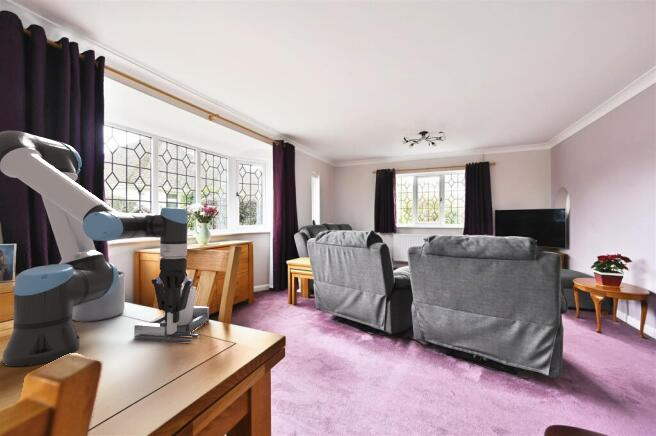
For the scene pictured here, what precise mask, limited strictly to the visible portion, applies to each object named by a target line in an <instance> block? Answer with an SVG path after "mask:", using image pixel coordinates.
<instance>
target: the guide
mask: <svg viewBox="0 0 656 436" xmlns="http://www.w3.org/2000/svg"><path fill="white" fill-rule="evenodd" d="M172 336H192V337H198V336H200V333H199V334H198V333H191V334H190V333H173V334H169V337H153V336H138V335H136V336H135V338H134V340H136V341H149V342H162V341H168V342H167V343H176V342H191V341H192V339H193V338H184V337H172ZM198 338H199V337H198ZM191 343H192V342H191Z"/></svg>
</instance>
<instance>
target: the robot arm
mask: <svg viewBox="0 0 656 436" xmlns="http://www.w3.org/2000/svg"><path fill="white" fill-rule="evenodd" d="M82 166H83V165H82V158H81V156H80V154H79V152H78V151H77V150H76V149H75V148H74V147H72V146H71V145H69V144H67V143H64V142H61V141H59V140H55V139H49V138H45V137H41V136H38V135H34V134H31V133H28V132H23V131H20V130H5V131H0V173H2V174H4V175H5V176H7V177H9V178H14V179H16V178H17V179H18V180H20V181H21V182H23V183H24V184H25V185H26V186H28V187H30V188H31V189H32V190H34V191H35V192H37V193H38V194H39V195H41V198H42V202H43V206H44V208H45V210H46V213H47V217H48V220H49V224H50V225H51V229H52V233H53V235H54V239H55V241H56V242H55V243H56V245H57V248H58V251H59V254H60V257H61V261H60V262H59V263H57V264H55V263H54V264H48V265H42V266H35V267H32V268H28V269H26V270H25V269H24V270H23V271H21V272H20V273H17V275H16V277H15V280H14V287H13V328H12V329H13V330H12V333H11V335H10V337H9V339H8V342H7V345H6V347H5V349H4V350H3V352H2V364H3V363H4V364H7V365H10V366H9V367H15V366H16V367H24V366H23V365H29V366H31V365H30V364H36V365H40V364H44V363H49V362H53V361H56V360H59V359H61V358H60V357H62V356H64V355H66V354H69V353H71V354H73V353H74V352H76V351H77V350H79V348H80V342H81V341H80V340H81V339H80V335H78V332H77V328H76V326H75V324H74V321H73V319H72V312H73V306H77V305H80V304H83V303H86V302H89V301H92V300H97V299H100V298H102V297H104V296H106V295H108V294H110V293H111V292H112V291H113V290H114V289H115V287H116V285H117V283H118V279H119V274H118V268H117V267H116V265H115V264H112V263H111V262H109V261H106V259H105V256H104V254H103V253H102V252H99V251H97V248H96V247H95V243H94V241H96V242H97V241H103V242H111V241H118V240H127V239H128V240H129V239H137V238H139V239H140V238H157V239H159V241H160V242H159V243H160V244H159V245H160V246H159V256H160V257H161V258H160V259H159V270H160V272H159V274H158V276H157V277H156V278H152V279H151V283H152V285H153V287H154V291H155V296H156V301H157V308H158V310H159V311H163V312H164V315H165V322H167V334H173V333H175V332H176V331H177V322H178V321H179V312H180V311H181V310H183V309H185V308H186V305H187V301H188V297H189V293H190V289H191V286H194V285H193V284H194V283H195V280H194V279H191V278H189V277H188V273H187V269H188V267H187V265H188V264H187V263H188V258H187V257H186V256H187V255H188V227H189V215H188V210H187V209H186V208H183V207H162V208H161V209H160V213H143V212H119V211H117V210H115V209H114V208H113V207H111V206H110V205H108V204H107V203H106V202H104V201H103V200H101V199H100V198H98V197H97V196H96V195H94V194H92V192H89V191H88V190H87V189H85V188H84V187H82V185H80V184H79V183H77V182H76V180H78V177H79V176H78V174H79V173H80V172H81V169H80V168H82ZM182 286H184V287H183V290H182V294H181V288H182ZM72 352H73V353H72ZM69 355H70V354H69ZM64 357H65V356H64ZM58 358H59V359H58ZM62 358H63V357H62ZM39 363H40V364H39ZM4 364H3V365H4Z"/></svg>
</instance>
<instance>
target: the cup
mask: <svg viewBox="0 0 656 436" xmlns="http://www.w3.org/2000/svg"><path fill="white" fill-rule="evenodd" d="M183 287H184V285H182V288H181V294H182V290H183ZM196 296H197V293H196V286H194V285H192V286H191V289H190V293H189V297H188V301H187V305H186V308H185V309H183V310H181V311H180V312H179V321H178V322H177V326H182V325H186V324H188V323H189V322H191V321H192V315H193V310H194V306H195V302H196V299H197V297H196Z"/></svg>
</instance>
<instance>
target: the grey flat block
mask: <svg viewBox="0 0 656 436" xmlns="http://www.w3.org/2000/svg"><path fill="white" fill-rule="evenodd" d="M133 327H134V330H133V331H134V334H133V335H134V336H133V338H134V339H135V336H136V335H138V336H153V337H168V338H170V336H169V334H167V322H165V320H164V321H162V322H160V324H158V323H149V322H138V323H136V324H134V326H133Z"/></svg>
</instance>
